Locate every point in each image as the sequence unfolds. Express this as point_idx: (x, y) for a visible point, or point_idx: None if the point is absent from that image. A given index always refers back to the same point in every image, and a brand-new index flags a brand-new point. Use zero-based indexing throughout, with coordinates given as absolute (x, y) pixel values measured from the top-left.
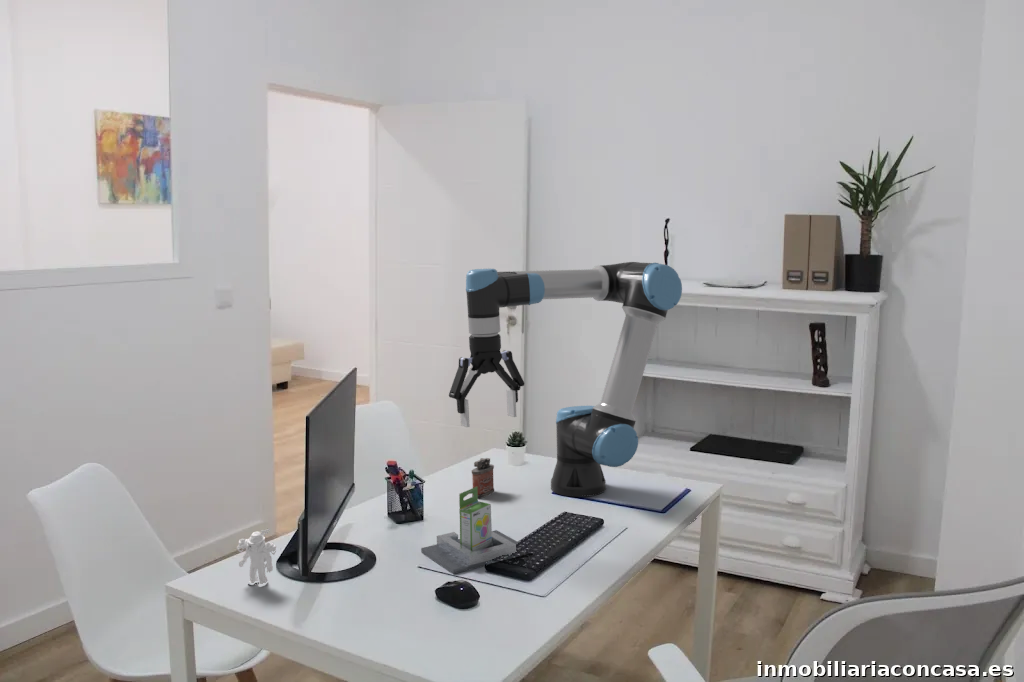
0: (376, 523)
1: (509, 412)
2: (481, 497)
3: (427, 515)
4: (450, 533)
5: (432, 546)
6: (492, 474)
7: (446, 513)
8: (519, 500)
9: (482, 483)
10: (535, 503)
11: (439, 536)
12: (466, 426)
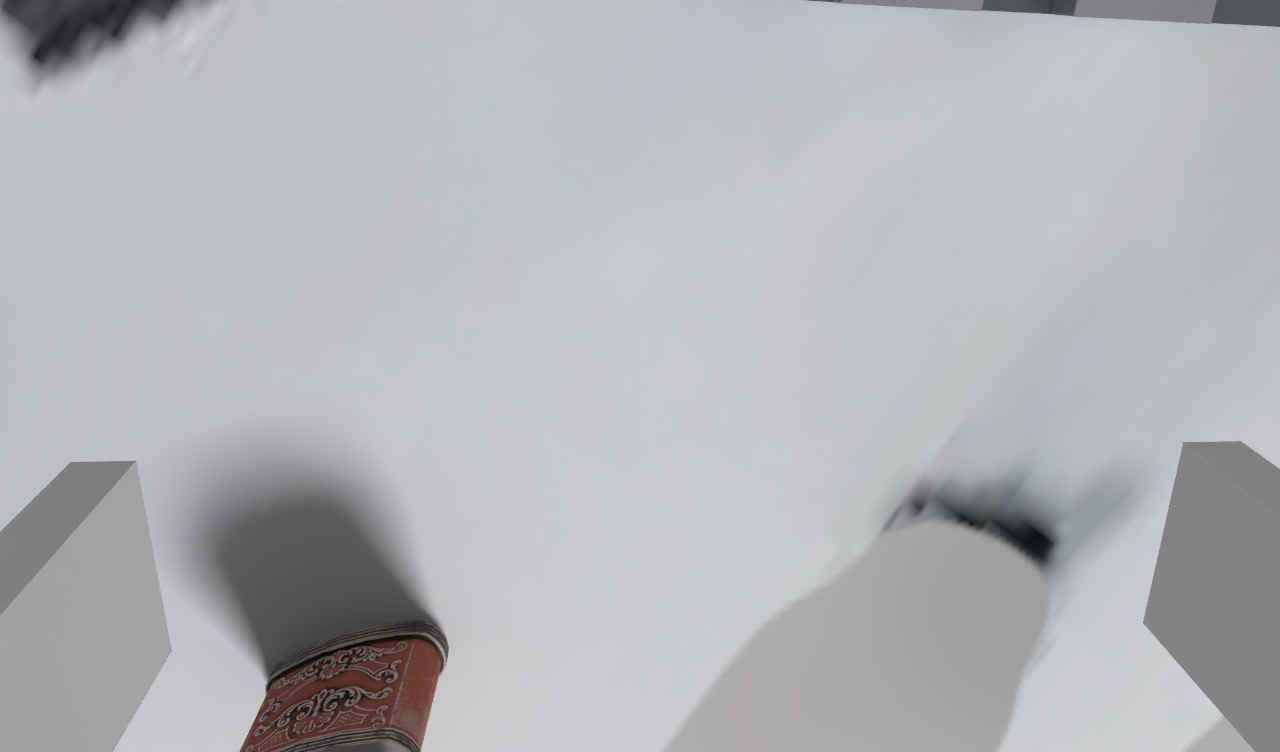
0: (1135, 602)
1: (134, 635)
2: (402, 623)
3: (841, 551)
4: (1112, 3)
5: (1225, 4)
6: (252, 743)
7: (733, 517)
8: (214, 452)
9: (370, 684)
10: (147, 342)
11: (1203, 2)
12: (1248, 458)
